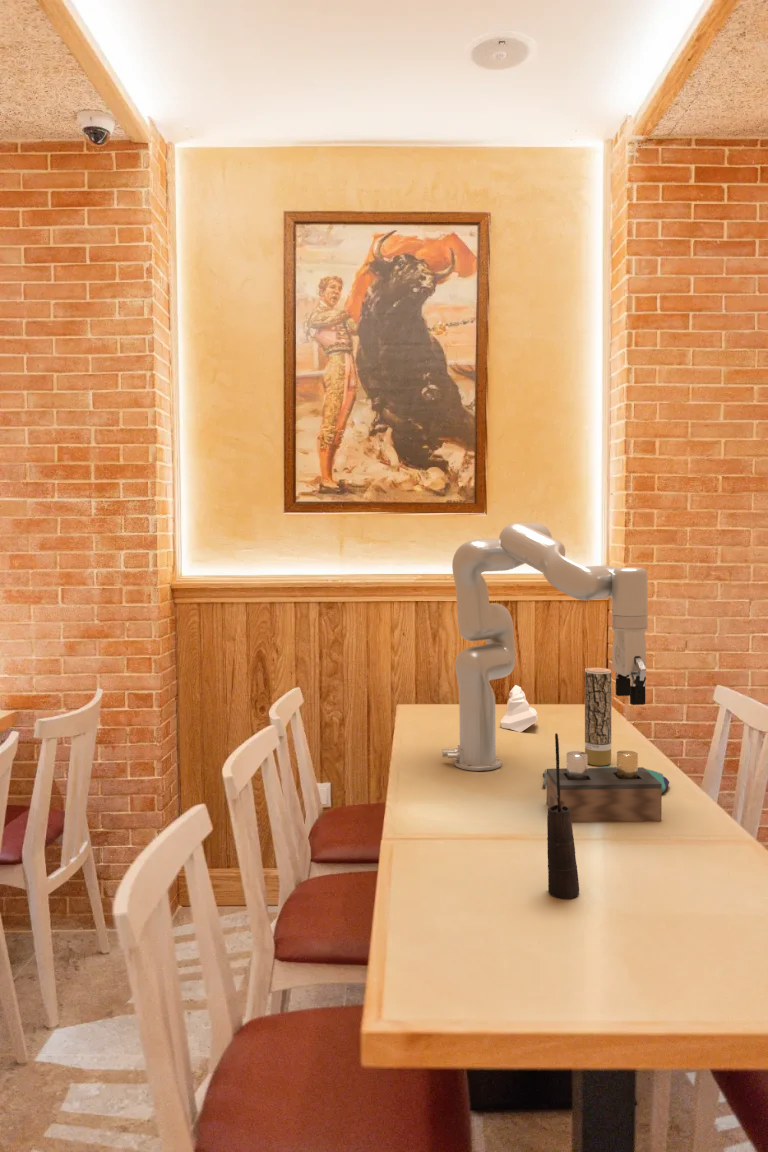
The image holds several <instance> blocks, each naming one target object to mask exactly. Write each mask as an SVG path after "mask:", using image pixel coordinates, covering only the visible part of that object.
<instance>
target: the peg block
mask: <svg viewBox="0 0 768 1152" xmlns="http://www.w3.org/2000/svg"><path fill="white" fill-rule="evenodd" d="M646 769H647V768H644V767H643V766H642V767H639V766H638V779H618V778H617V768H599V767H587V780H568V779H567V767H566V768H559V774H560V801H564V806H566V807H568V808H569V810H570V815H571V822H572V823H600V822H601V823H602V822H606V823H607V822H608V823H609V822H611V823H612V822H614V823H617V822H662V810H663V809H662V807H663V806H662V804H663V803H662V802H663V801H662V794H663V793H662V784H661V783H660V782H659V781H658V780H657V779H656V778H655V777H653V776H652V775H651V774H650V773H649V772H648V771H647V770H646ZM546 772H547V783H546V805H547V806H548V808H549V807H550V806H554V805H558V802H557V797H558V795H557V771H556V768H546ZM564 806H563V807H564Z"/></svg>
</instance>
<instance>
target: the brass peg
mask: <svg viewBox="0 0 768 1152" xmlns="http://www.w3.org/2000/svg"><path fill="white" fill-rule="evenodd" d="M638 759H639V754H638V752H637V751H633V750H619V751H617V752H616V767H617V778H618V779H638V767H639V763H638V762H639V760H638Z"/></svg>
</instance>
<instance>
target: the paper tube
mask: <svg viewBox="0 0 768 1152" xmlns="http://www.w3.org/2000/svg"><path fill="white" fill-rule="evenodd" d="M584 670H585V671H584V752H585V753H587V765H590V766H595V767H605V766H608V765H611V763H612V668H611V669H610V668H604V667H588V668H585V669H584Z"/></svg>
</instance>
